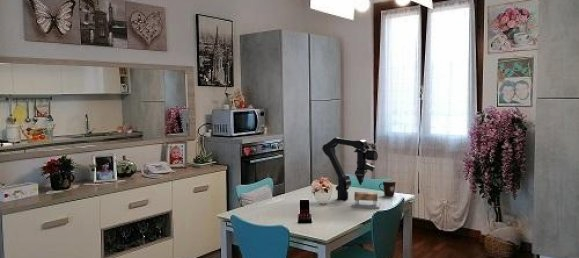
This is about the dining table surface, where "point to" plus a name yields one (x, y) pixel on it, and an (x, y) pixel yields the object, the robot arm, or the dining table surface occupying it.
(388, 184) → the coffee mug
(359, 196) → the shelf board
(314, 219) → the dining table surface
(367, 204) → the peg plate
